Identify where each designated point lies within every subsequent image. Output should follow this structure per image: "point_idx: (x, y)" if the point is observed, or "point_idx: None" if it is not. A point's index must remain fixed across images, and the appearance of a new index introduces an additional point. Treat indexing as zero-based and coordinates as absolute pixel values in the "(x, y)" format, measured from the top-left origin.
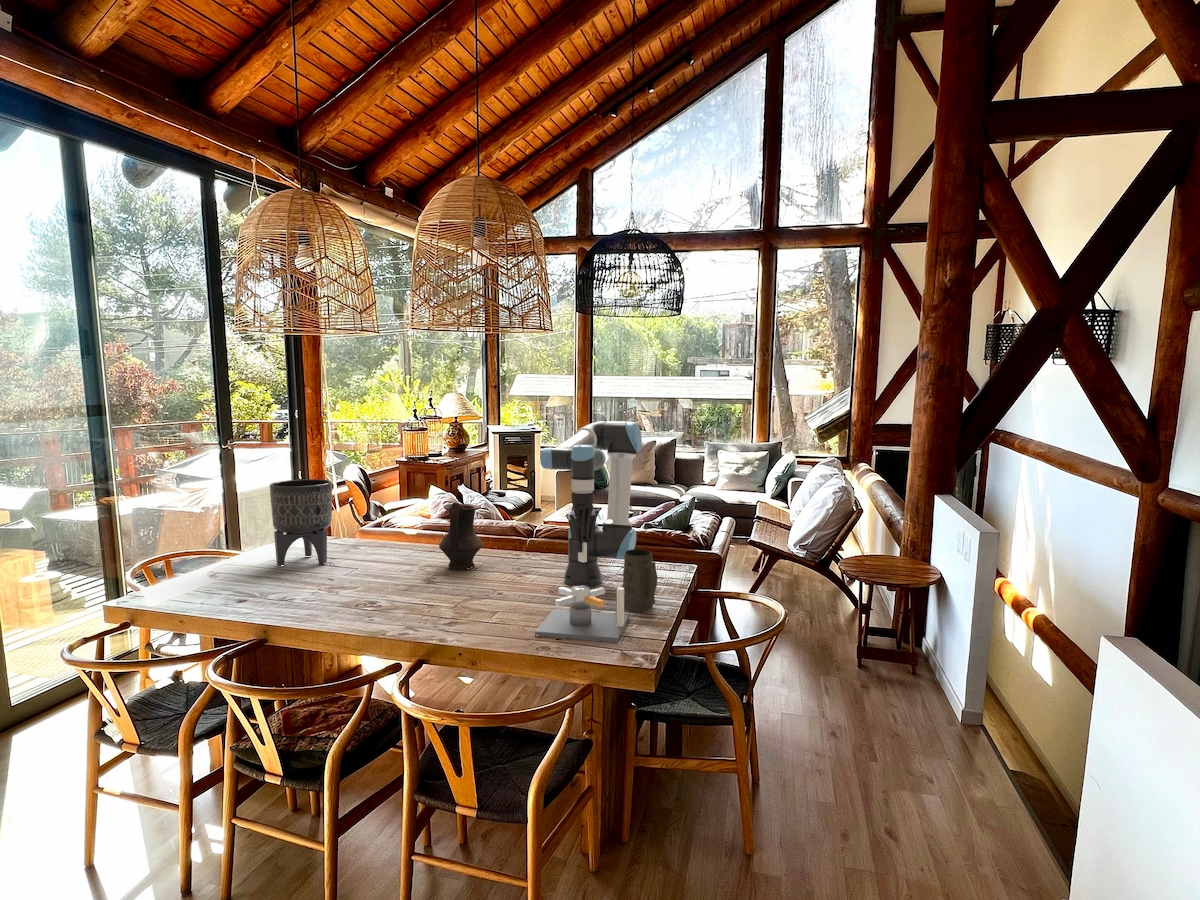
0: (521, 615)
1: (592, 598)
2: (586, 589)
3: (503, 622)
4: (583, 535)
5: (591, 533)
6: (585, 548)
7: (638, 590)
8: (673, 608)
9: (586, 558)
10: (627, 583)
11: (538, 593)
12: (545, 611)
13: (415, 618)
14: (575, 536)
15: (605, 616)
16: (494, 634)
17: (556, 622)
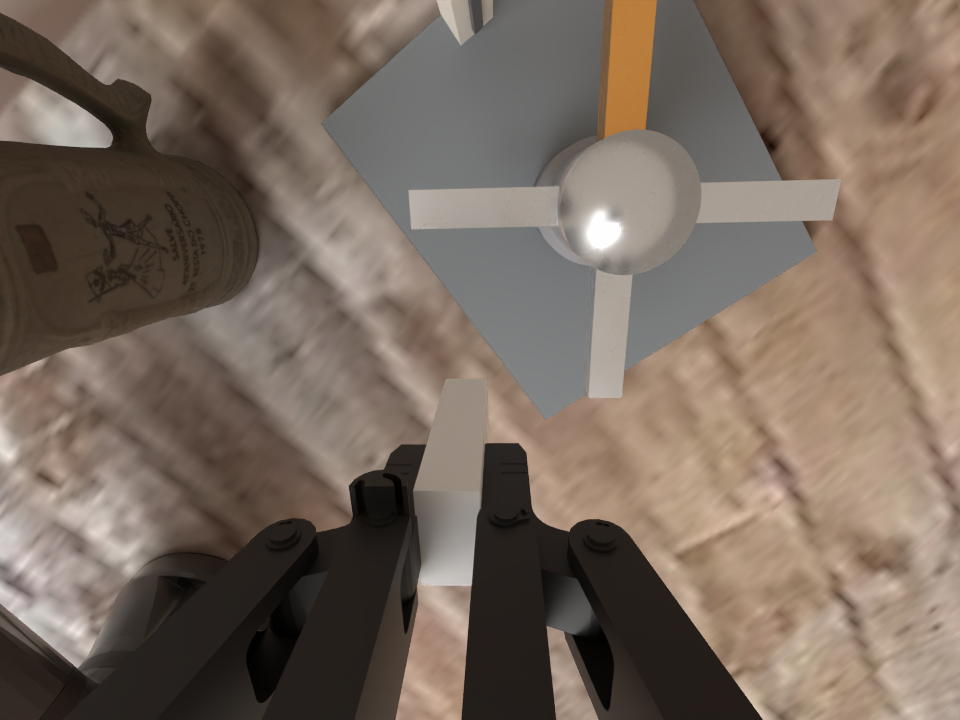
0: (652, 472)
1: (641, 53)
2: (626, 145)
3: (757, 456)
4: (400, 635)
5: (253, 599)
6: (449, 446)
7: (149, 174)
8: (37, 83)
9: (446, 392)
10: (165, 258)
11: (432, 610)
12: (551, 449)
13: (914, 660)
14: (676, 609)
15: (435, 183)
16: (886, 375)
17: (663, 278)
